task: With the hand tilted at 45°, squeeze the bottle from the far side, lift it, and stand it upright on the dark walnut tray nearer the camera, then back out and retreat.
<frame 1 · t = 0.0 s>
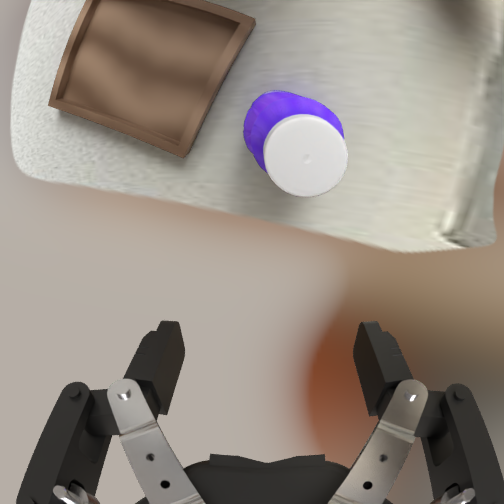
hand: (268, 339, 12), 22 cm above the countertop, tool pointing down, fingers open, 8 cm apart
bottle: (285, 118, 27), on the countertop
walnut tray: (142, 58, 24), on the countertop
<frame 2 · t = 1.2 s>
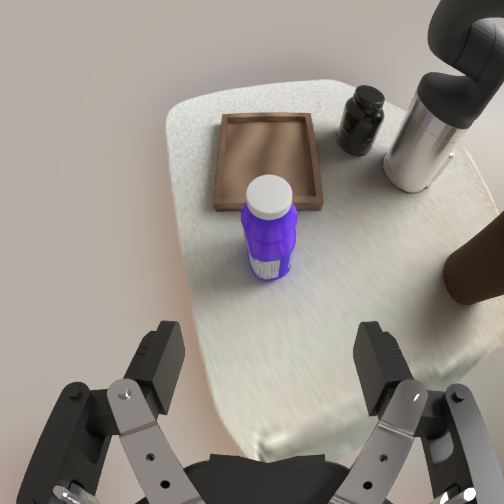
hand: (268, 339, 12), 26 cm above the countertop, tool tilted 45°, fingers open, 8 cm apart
supplement bottle: (354, 142, 48), on the countertop
olive oil: (463, 278, 38), on the countertop
bottle: (269, 258, 41), on the countertop
walnut tray: (267, 160, 47), on the countertop
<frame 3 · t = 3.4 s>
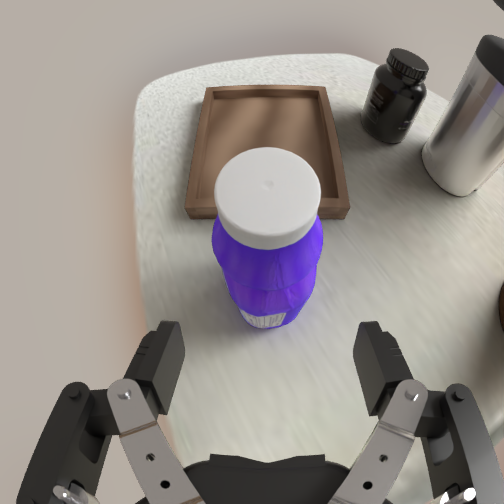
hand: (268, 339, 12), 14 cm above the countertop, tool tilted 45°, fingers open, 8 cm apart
supplement bottle: (382, 127, 34), on the countertop
bottle: (267, 291, 27), on the countertop
walnut tray: (266, 147, 32), on the countertop
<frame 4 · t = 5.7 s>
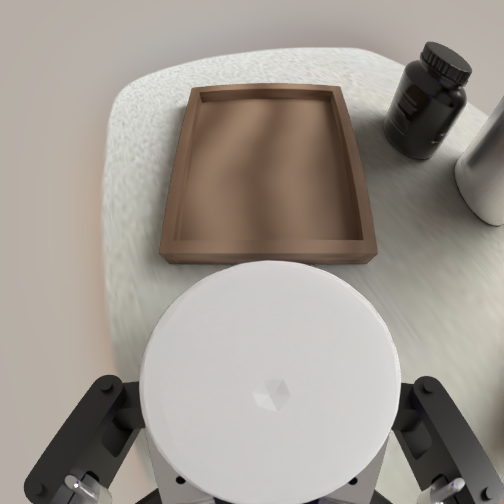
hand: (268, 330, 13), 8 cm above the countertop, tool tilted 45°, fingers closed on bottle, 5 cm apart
supplement bottle: (409, 138, 27), on the countertop
bottle: (268, 362, 20), on the countertop, touching gripper
walnut tray: (267, 164, 26), on the countertop
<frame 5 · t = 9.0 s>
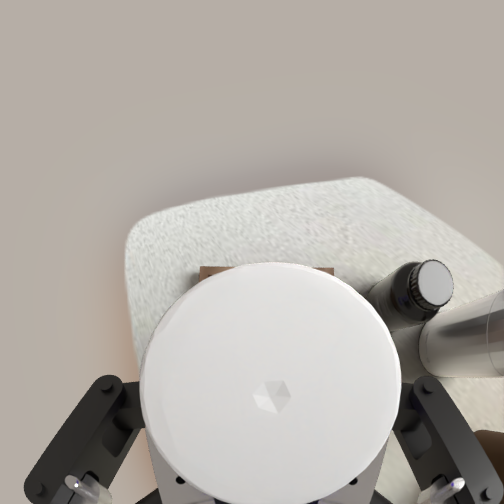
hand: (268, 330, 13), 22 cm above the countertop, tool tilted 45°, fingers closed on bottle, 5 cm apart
supplement bottle: (387, 306, 34), on the countertop
olive oil: (471, 456, 25), on the countertop
bottle: (267, 362, 20), point 13 cm above the countertop, touching gripper
walnut tray: (265, 349, 33), on the countertop
when the fingers open (10 cm above the countertop, at t = 12.6 s): bottle stays where it is, resting on walnut tray.
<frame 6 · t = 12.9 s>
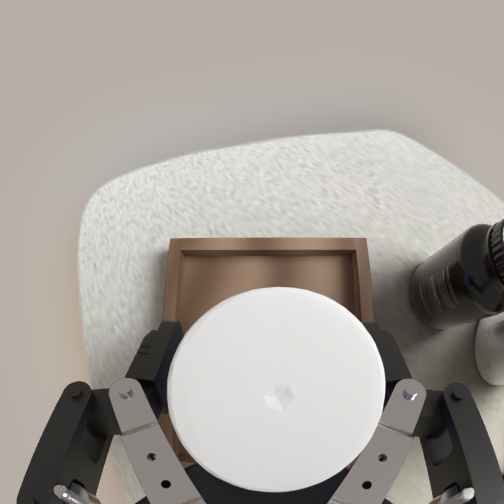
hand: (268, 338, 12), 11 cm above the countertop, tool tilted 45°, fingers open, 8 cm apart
supplement bottle: (436, 294, 23), on the countertop
bottle: (267, 364, 21), point 1 cm above the countertop, touching walnut tray
walnut tray: (267, 361, 22), on the countertop
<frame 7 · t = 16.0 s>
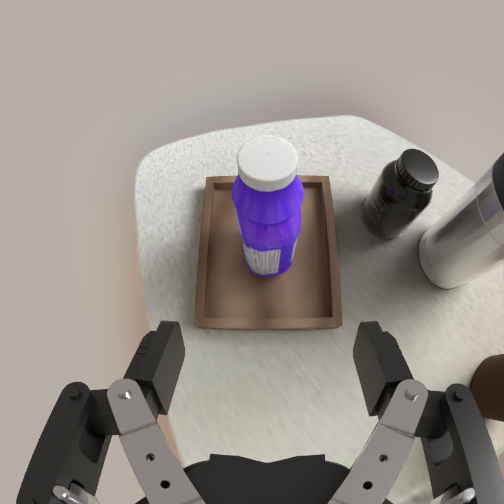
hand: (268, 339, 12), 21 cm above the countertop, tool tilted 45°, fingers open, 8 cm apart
supplement bottle: (383, 217, 36), on the countertop
olive oil: (489, 386, 27), on the countertop
bottle: (267, 250, 35), point 1 cm above the countertop, touching walnut tray
walnut tray: (268, 251, 35), on the countertop
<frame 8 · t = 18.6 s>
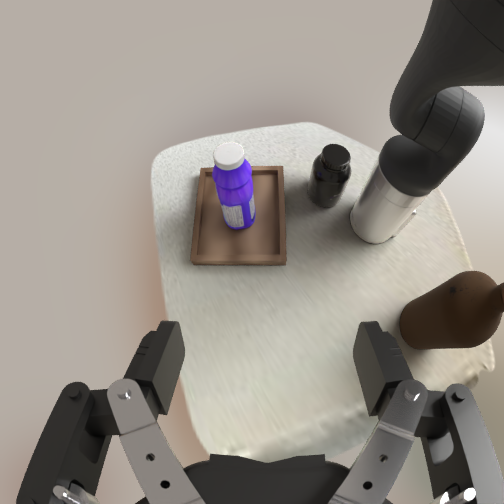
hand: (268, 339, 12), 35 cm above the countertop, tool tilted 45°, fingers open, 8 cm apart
supplement bottle: (324, 193, 54), on the countertop
olive oil: (420, 324, 44), on the countertop
bottle: (239, 214, 52), point 1 cm above the countertop, touching walnut tray
walnut tray: (240, 215, 53), on the countertop
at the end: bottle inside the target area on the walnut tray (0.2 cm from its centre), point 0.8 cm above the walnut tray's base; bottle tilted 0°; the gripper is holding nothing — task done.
